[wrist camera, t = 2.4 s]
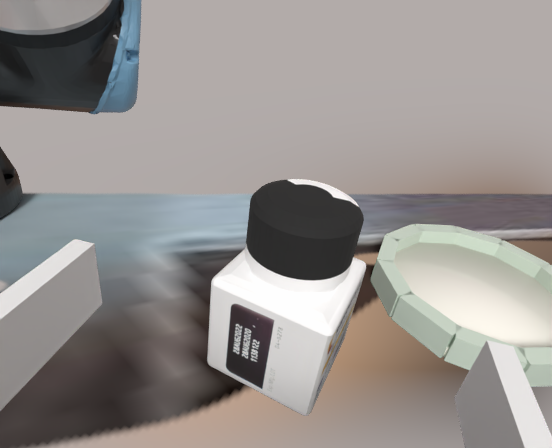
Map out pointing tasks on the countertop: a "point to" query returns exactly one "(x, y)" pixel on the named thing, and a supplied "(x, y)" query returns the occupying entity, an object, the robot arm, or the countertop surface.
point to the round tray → (467, 295)
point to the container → (288, 292)
